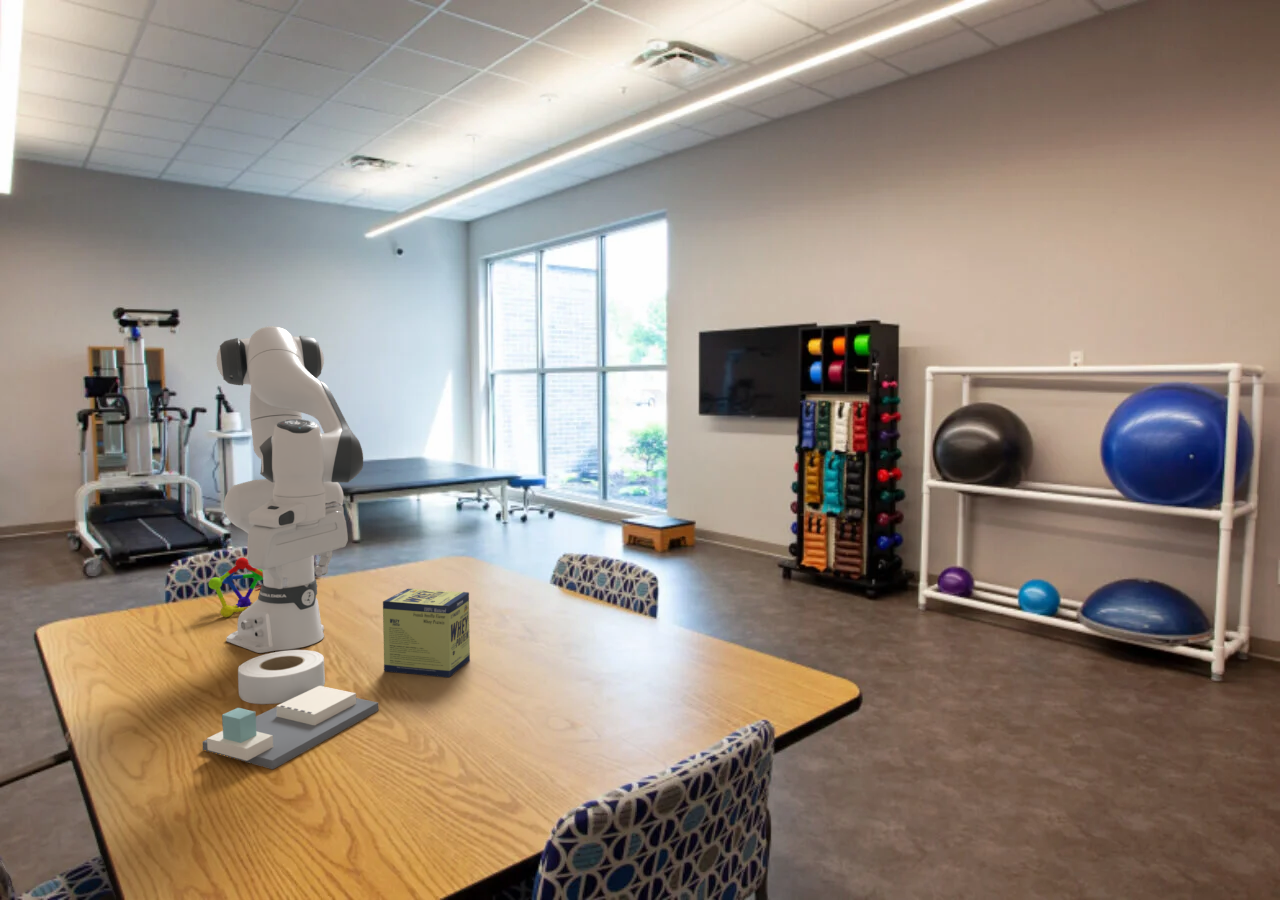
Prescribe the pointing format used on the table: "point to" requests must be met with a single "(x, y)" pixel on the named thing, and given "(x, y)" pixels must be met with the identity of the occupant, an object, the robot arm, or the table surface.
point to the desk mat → (302, 732)
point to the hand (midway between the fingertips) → (301, 581)
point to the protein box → (426, 632)
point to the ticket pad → (316, 705)
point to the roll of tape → (280, 676)
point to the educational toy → (227, 579)
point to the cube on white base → (240, 736)
